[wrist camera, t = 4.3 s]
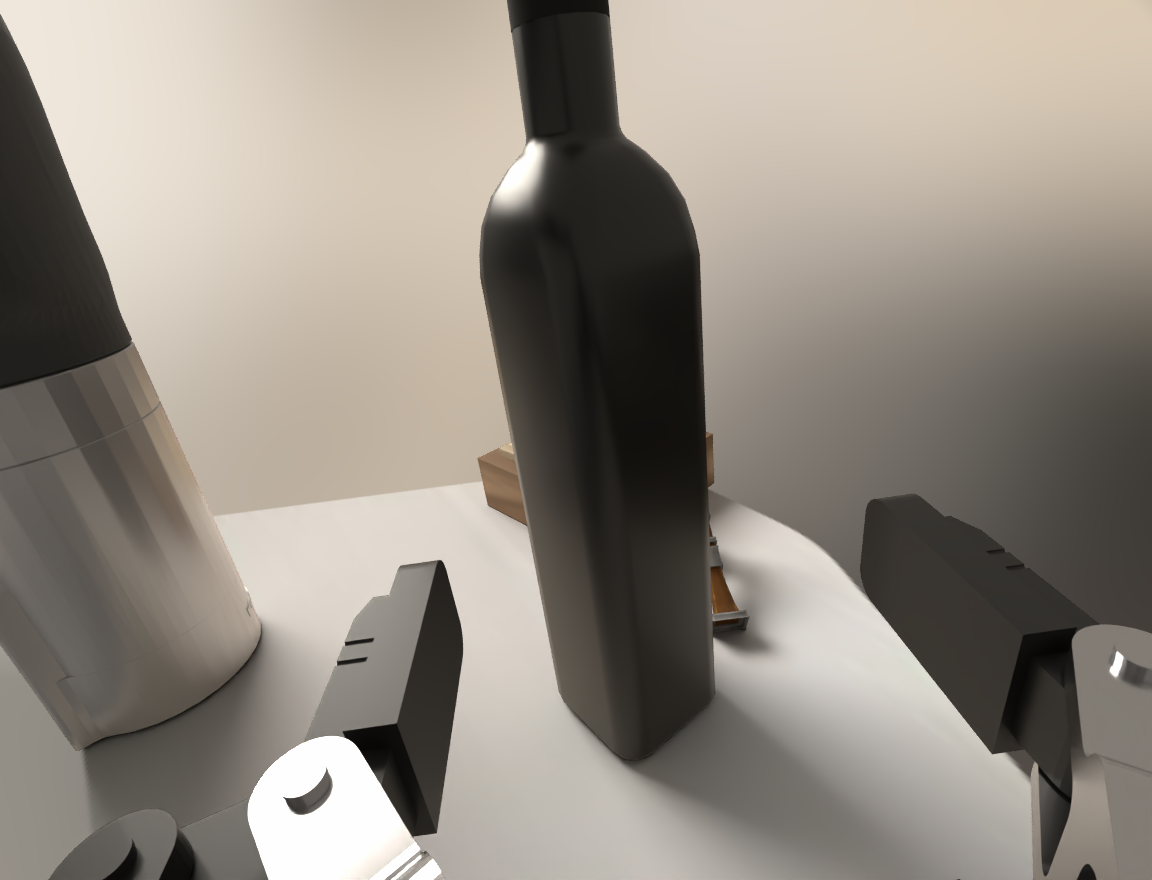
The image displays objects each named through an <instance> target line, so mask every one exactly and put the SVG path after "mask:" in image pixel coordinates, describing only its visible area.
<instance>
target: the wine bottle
mask: <svg viewBox="0 0 1152 880" xmlns="http://www.w3.org/2000/svg"><path fill="white" fill-rule="evenodd" d="M507 4H508V10H509V18H510V25H511V32H512V37H513V45H514V52H515V60H516V67H517V74H518V81H519V89H520V96H521V103H522V110H523V117H524V125H525V132H526V145H525V148H524V150H523V153H522V154H521V155H520V156H519V158H518V159H517V160H516V161H515V162H514V163H513V165H512V166H511V167H510V168H509V170H508V171H507V173H506V174H505V176H504V177H503V179H502V180H501V182H500V184H499V185H498V187H497V189H496V190H495V192H494V193H493V195H492V196H491V199H490V202H489V205H488V208H487V211H486V214H485V217H484V221H483V224H482V228H481V229H482V230H481V242H480V278H481V284H482V289H483V294H484V299H485V305H486V310H487V315H488V321H489V326H490V331H491V336H492V341H493V347H494V352H495V357H496V363H497V368H498V373H499V378H500V384H501V389H502V394H503V399H504V405H505V410H506V415H507V421H508V425H509V431H510V436H511V442H512V447H513V452H514V458H515V463H516V468H517V473H518V479H519V484H520V489H521V494H522V500H523V505H524V510H525V516H526V521H527V526H528V531H529V537H530V542H531V547H532V552H533V558H534V563H535V568H536V574H537V579H538V584H539V589H540V595H541V600H542V605H543V610H544V616H545V621H546V626H547V631H548V637H549V642H550V647H551V653H552V658H553V663H554V668H555V674H556V679H557V684H558V689H559V693H560V695H561V697H562V699H563V701H564V702H565V703H566V704H567V705H568V706H569V707H570V708H571V709H572V710H573V711H574V712H575V713H576V714H577V715H578V716H579V717H580V718H581V719H582V720H583V721H584V722H585V723H586V725H587V726H588V727H589V728H590V729H591V730H592V731H593V732H594V733H595V734H596V735H597V736H598V737H599V738H600V739H601V740H602V741H603V742H604V743H605V744H606V745H607V746H608V747H609V748H610V749H611V750H612V751H613V752H614V753H616V754H618V755H619V756H621V757H623V758H624V759H627V760H641V759H643V758H645V757H647V756H649V755H651V754H652V753H653V752H655V751H656V750H657V749H658V748H659V747H660V746H662V745H663V744H664V743H665V742H666V741H667V740H668V739H670V738H671V737H672V736H673V735H674V734H675V733H676V732H678V731H679V730H680V729H681V728H682V727H683V726H685V725H686V724H687V723H688V722H689V721H690V720H691V719H693V718H694V717H695V716H696V715H697V714H698V713H699V712H701V711H702V710H703V709H704V708H705V707H706V706H708V704H709V703H710V701H711V700H712V698H713V696H714V695H715V681H714V652H713V624H712V595H711V566H710V537H709V509H708V480H707V451H706V423H705V395H704V365H703V338H702V308H701V280H700V254H699V249H698V244H697V239H696V234H695V230H694V226H693V223H692V220H691V217H690V214H689V211H688V207H687V204H686V201H685V199H684V197H683V196H682V194H681V192H680V191H679V189H678V187H677V186H676V184H675V183H674V181H673V179H672V178H671V176H670V175H669V173H668V172H667V171H666V170H665V169H664V168H663V167H662V166H661V165H659V164H658V163H657V162H656V161H655V160H654V159H653V158H652V157H651V156H650V155H649V154H648V153H647V152H646V151H644V150H643V149H641V148H640V147H639V146H637V145H636V144H635V143H633V142H632V141H630V140H628V139H627V138H626V137H625V136H624V134H623V133H622V131H621V128H620V126H619V116H618V105H617V94H616V82H615V71H614V60H613V48H612V38H611V27H610V15H609V4H608V0H507Z"/></svg>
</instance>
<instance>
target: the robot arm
mask: <svg viewBox="0 0 1152 880" xmlns="http://www.w3.org/2000/svg"><path fill="white" fill-rule="evenodd" d="M131 340H132V338H131V336H130V334H129V332H128V330H127V327H126V325H125V323H124V321H123V318H122V316H121V313H120V311H119V308H118V305H117V301H116V298H115V295H114V291H113V288H112V285H111V281H110V278H109V274H108V271H107V269H106V266H105V263H104V261H103V258H102V255H101V253H100V250H99V248H98V246H97V243H96V241H95V239H94V236H93V234H92V232H91V229H90V227H89V225H88V222H87V220H86V218H85V215H84V213H83V210H82V208H81V205H80V202H79V200H78V197H77V195H76V192H75V190H74V187H73V185H72V182H71V180H70V178H69V175H68V172H67V169H66V167H65V164H64V162H63V159H62V156H61V154H60V151H59V148H58V145H57V143H56V140H55V137H54V135H53V132H52V129H51V127H50V124H49V122H48V119H47V116H46V113H45V111H44V108H43V105H42V103H41V100H40V98H39V96H38V93H37V91H36V88H35V86H34V83H33V81H32V79H31V76H30V74H29V71H28V69H27V67H26V65H25V62H24V60H23V58H22V56H21V54H20V52H19V50H18V48H17V46H16V44H15V42H14V40H13V38H12V36H11V34H10V32H9V30H8V28H7V26H6V24H5V22H4V20H3V18H2V16H1V15H0V645H1V647H2V648H3V649H4V651H5V652H6V654H7V655H8V656H9V658H10V659H11V661H12V662H13V663H14V665H15V666H16V668H17V669H18V671H19V672H20V673H21V675H22V676H23V677H24V679H25V680H26V682H27V683H28V684H29V686H30V687H31V689H32V690H33V691H34V693H35V694H36V696H37V697H38V699H39V700H40V701H41V703H42V704H43V706H44V707H45V708H46V710H47V711H48V713H49V714H50V715H51V717H52V718H53V720H54V721H55V722H56V724H57V725H58V727H59V728H60V730H61V731H62V732H63V734H64V735H65V737H66V738H67V739H68V741H69V742H70V744H71V745H72V746H73V748H74V749H75V750H76V751H77V750H81V749H83V748H85V747H87V746H89V745H90V744H92V743H94V742H96V741H98V740H100V739H102V738H104V737H108V736H113V735H118V734H123V733H129V732H134V731H137V730H140V729H143V728H146V727H149V726H152V725H155V724H158V723H160V722H162V721H164V720H167V719H169V718H171V717H173V716H175V715H178V714H180V713H181V712H183V711H185V710H187V709H188V708H190V707H192V706H194V705H195V704H197V703H199V702H200V701H202V700H203V699H205V698H206V697H207V696H209V695H210V694H212V693H213V692H214V691H216V690H217V689H219V688H220V687H221V686H222V685H223V684H224V683H226V682H227V681H228V680H229V679H230V678H231V677H232V676H234V675H235V674H236V673H237V672H238V670H239V669H240V668H241V667H242V666H243V665H244V664H245V663H246V661H247V660H248V659H249V657H250V656H251V654H252V653H253V651H254V650H255V648H256V646H257V643H258V641H259V638H260V635H261V623H260V621H259V618H258V616H257V614H256V611H255V609H254V607H253V605H252V602H251V598H250V595H249V593H248V591H247V589H246V588H245V587H244V584H243V582H242V580H241V578H240V576H239V573H238V571H237V569H236V567H235V564H234V562H233V560H232V558H231V556H230V553H229V551H228V549H227V547H226V545H225V542H224V540H223V538H222V536H221V534H220V531H219V529H218V527H217V525H216V523H215V520H214V518H213V516H212V514H211V512H210V510H209V507H208V505H207V503H206V501H205V498H204V496H203V494H202V492H201V490H200V487H199V485H198V483H197V481H196V479H195V476H194V474H193V472H192V470H191V468H190V465H189V463H188V461H187V459H186V457H185V455H184V452H183V450H182V448H181V446H180V443H179V441H178V439H177V437H176V435H175V432H174V430H173V428H172V426H171V424H170V421H169V419H168V417H167V415H166V413H165V410H164V408H163V406H162V404H161V402H160V401H159V397H158V395H157V393H156V391H155V389H154V386H153V384H152V382H151V380H150V377H149V375H148V373H147V371H146V369H145V366H144V364H143V362H142V360H141V358H140V355H139V353H138V351H137V349H136V347H135V345H134V343H133V342H132V341H131ZM860 572H861V579H862V583H863V586H864V589H865V591H866V593H867V595H868V597H869V599H870V600H871V602H872V603H873V604H874V605H875V607H876V608H877V609H878V610H879V612H880V613H881V614H882V616H883V617H884V618H885V619H886V621H887V622H888V623H889V624H890V626H891V627H892V628H893V629H894V631H895V632H896V633H897V634H898V636H899V637H900V638H901V640H902V641H903V642H904V643H905V645H906V646H907V647H908V648H909V650H910V651H911V652H912V653H913V655H914V656H915V657H916V658H917V660H918V661H919V662H920V664H921V665H922V666H923V667H924V669H925V670H926V671H927V672H928V674H929V675H930V676H931V677H932V679H933V680H934V681H935V682H936V684H937V685H938V686H939V688H940V689H941V690H942V691H943V693H944V694H945V695H946V696H947V698H948V699H949V700H950V701H951V703H952V704H953V705H954V706H955V708H956V709H957V710H958V712H959V713H960V714H961V715H962V717H963V718H964V719H965V720H966V722H967V723H968V724H969V725H970V727H971V728H972V729H973V730H974V732H975V733H976V734H977V736H978V737H979V738H980V739H981V741H982V742H983V743H984V744H985V746H986V747H987V748H988V749H989V751H990V752H991V753H992V754H997V753H1004V752H1011V751H1018V750H1024V749H1025V750H1026V752H1027V753H1028V754H1029V755H1030V756H1031V757H1032V759H1033V760H1034V761H1035V762H1034V766H1033V769H1032V772H1031V807H1032V845H1033V880H1152V634H1150V633H1148V632H1145V631H1141V630H1137V629H1134V628H1129V627H1123V626H1115V625H1100V624H1099V623H1097V622H1096V621H1095V620H1094V619H1093V618H1091V617H1090V616H1089V615H1088V614H1086V613H1085V612H1084V611H1083V610H1081V609H1080V608H1079V607H1077V606H1076V605H1075V604H1074V603H1072V602H1071V601H1070V600H1069V599H1067V598H1066V597H1065V596H1064V595H1062V594H1061V593H1060V592H1059V591H1057V590H1056V589H1055V588H1054V587H1052V586H1051V585H1050V584H1048V583H1047V582H1046V581H1044V580H1043V579H1042V578H1041V577H1040V576H1038V575H1037V574H1036V573H1035V572H1033V571H1032V570H1031V569H1030V568H1025V567H1024V564H1023V563H1022V562H1021V561H1020V560H1018V559H1017V558H1016V557H1014V556H1013V555H1012V554H1011V553H1009V552H1008V553H1006V552H1005V550H1004V548H1003V547H1002V546H1001V545H999V544H998V543H997V542H996V541H994V540H993V539H992V538H991V537H989V536H988V535H987V534H985V533H984V532H983V531H982V530H980V529H977V528H975V527H973V526H971V525H969V524H967V523H964V522H962V521H960V520H958V519H956V518H953V517H951V516H946V517H944V516H943V515H942V514H941V513H939V512H938V511H937V510H936V509H934V508H933V507H932V506H931V505H930V504H929V503H927V502H926V501H925V500H924V499H922V498H921V497H920V496H918V495H916V494H907V495H900V496H893V497H886V498H880V499H873V500H871V501H870V502H869V503H868V505H867V508H866V514H865V524H864V534H863V545H862V555H861V564H860ZM462 658H463V637H462V629H461V624H460V620H459V616H458V612H457V608H456V605H455V601H454V597H453V594H452V590H451V586H450V582H449V579H448V575H447V571H446V568H445V565H444V563H443V562H442V561H441V560H437V561H430V562H423V563H416V564H409V565H402V566H400V567H399V569H398V571H397V574H396V577H395V580H394V583H393V585H392V588H391V591H390V594H389V595H386V596H379V597H373V598H372V600H371V601H370V602H369V603H368V604H367V605H366V606H365V607H364V608H363V609H362V611H361V612H360V613H359V614H358V615H357V616H356V617H355V618H354V620H353V623H352V625H351V628H350V630H349V633H348V635H347V638H346V640H345V646H343V647H342V650H341V652H340V655H339V657H338V660H337V666H335V667H334V670H333V672H332V675H331V677H330V680H329V682H328V684H327V687H326V689H325V692H324V694H323V697H322V699H321V702H320V704H319V707H318V709H317V712H316V714H315V717H314V719H313V721H312V724H311V726H310V729H309V731H308V734H307V736H306V739H305V741H304V743H303V744H301V745H299V746H297V747H296V748H294V749H292V750H290V751H289V752H288V753H286V754H285V755H283V756H282V757H281V758H280V759H279V760H277V761H276V762H275V763H274V764H273V765H272V766H271V767H270V768H269V769H268V770H267V771H266V773H265V774H264V775H263V777H262V778H261V779H260V781H259V782H258V784H257V786H256V787H255V789H254V791H253V794H252V796H251V797H250V798H248V799H246V800H244V801H242V802H240V803H238V804H236V805H233V806H231V807H229V808H227V809H224V810H222V811H220V812H217V813H215V814H213V815H210V816H208V817H206V818H203V819H201V820H199V821H196V822H194V823H192V824H189V825H187V826H185V827H183V828H180V827H179V826H178V824H177V823H176V821H175V820H174V818H173V817H172V815H171V814H169V813H168V812H166V811H164V810H160V809H144V810H139V811H136V812H132V813H129V814H127V815H124V816H122V817H120V818H118V819H116V820H114V821H112V822H110V823H108V824H107V825H105V826H103V827H102V828H100V829H99V830H97V831H96V832H95V833H93V834H92V835H90V836H89V837H88V838H87V839H85V840H84V841H83V842H82V843H81V844H79V845H78V846H77V847H76V848H75V849H74V850H73V851H72V852H71V853H70V854H69V855H68V856H67V857H66V858H65V859H64V860H63V861H62V863H61V864H60V865H59V866H58V867H57V869H56V870H55V871H54V873H53V874H52V875H51V877H50V878H49V880H446V879H445V877H444V876H443V874H442V872H441V871H440V869H439V868H438V866H437V865H436V863H435V862H434V860H433V859H432V858H431V856H430V855H429V854H428V853H427V852H426V851H425V852H423V853H422V852H421V850H420V849H419V847H418V846H417V844H416V843H415V841H414V839H413V836H420V835H427V834H434V833H437V827H438V821H439V814H440V807H441V800H442V794H443V787H444V780H445V773H446V767H447V760H448V753H449V746H450V740H451V733H452V726H453V719H454V712H455V706H456V699H457V692H458V685H459V679H460V672H461V665H462ZM959 880H960V879H959Z"/></svg>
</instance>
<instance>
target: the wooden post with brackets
mask: <svg viewBox="0 0 1152 880" xmlns="http://www.w3.org/2000/svg"><path fill="white" fill-rule="evenodd" d="M710 517H711V516H710V514H709V522H710ZM709 537H710V566H711V595H712V607H713V614H712V624H713V632H716V631H724V630H732V629H740V628H743V629H744V630H746V626H747V623H748V620H749V616H748V615H747V613H746V610H742V611H739V610H738V608H737V606H736V604H735V603H734V601H733V598H732V596H731V593H730V591H729V589H728V586H727V584H726V582H725V579H724V576H723V573H722V568H723V564H722V562H721V559H720V555H719V551H718V546H716V545H717V540H716V537H713V536H712V532H711V528H710V524H709Z"/></svg>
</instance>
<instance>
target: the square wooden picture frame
mask: <svg viewBox="0 0 1152 880" xmlns="http://www.w3.org/2000/svg"><path fill="white" fill-rule="evenodd" d="M706 451H707V480H708V487H709V486H711V485H712V484H713V483H714V467H713V466H714V464H713V434H711V433H707V432H706ZM478 462H479V466H480V471H481V476H482V480H483V485H484V490H485V494H486V499H487V503H488V505H489V506H491V507H492V508H494V509H496V510H498V511H500V512H502V513H504V514H506V515H508V516H510V517H512V518H514V519H516V520H517V521H519V522H521V523H523V524H525V525H527V521H526V516H525V510H524V505H523V500H522V494H521V489H520V484H519V479H518V473H517V468H516V463H515V458H514V452H513V447H512V442H511V443H509V444H506V445H504V446H502V447H500V448H498V449H496V450H494V451H492V452H490V453H488V454H486V455H483V456H481V457H479V458H478Z"/></svg>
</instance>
